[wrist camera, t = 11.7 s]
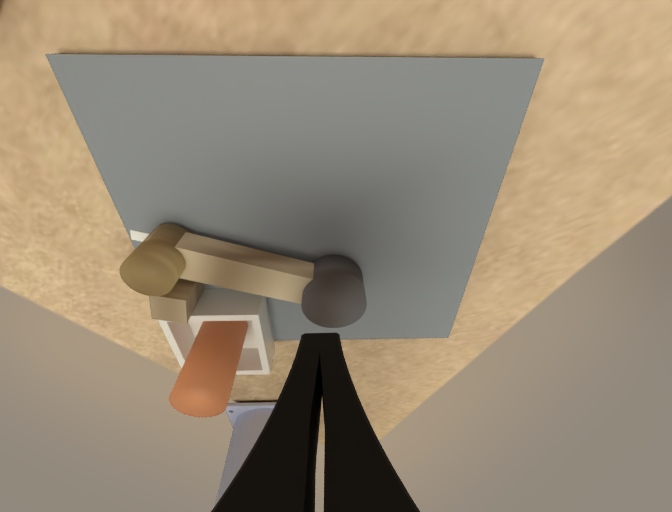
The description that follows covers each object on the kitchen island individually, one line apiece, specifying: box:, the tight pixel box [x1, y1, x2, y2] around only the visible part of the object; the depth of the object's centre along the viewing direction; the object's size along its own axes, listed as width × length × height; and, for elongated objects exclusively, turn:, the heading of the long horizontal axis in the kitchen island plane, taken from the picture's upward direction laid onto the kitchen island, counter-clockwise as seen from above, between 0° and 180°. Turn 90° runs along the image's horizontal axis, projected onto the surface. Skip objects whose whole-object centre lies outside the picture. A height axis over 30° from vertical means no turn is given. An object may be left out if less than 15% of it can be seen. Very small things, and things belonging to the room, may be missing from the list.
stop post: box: [149, 278, 204, 324], centre depth 19 cm, size 2×2×3 cm
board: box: [45, 54, 544, 341], centre depth 19 cm, size 19×22×1 cm
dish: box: [158, 289, 275, 375], centre depth 22 cm, size 6×6×2 cm
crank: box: [120, 224, 367, 328], centre depth 18 cm, size 14×4×4 cm, turn 72°
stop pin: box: [169, 321, 248, 417], centre depth 20 cm, size 3×3×6 cm
